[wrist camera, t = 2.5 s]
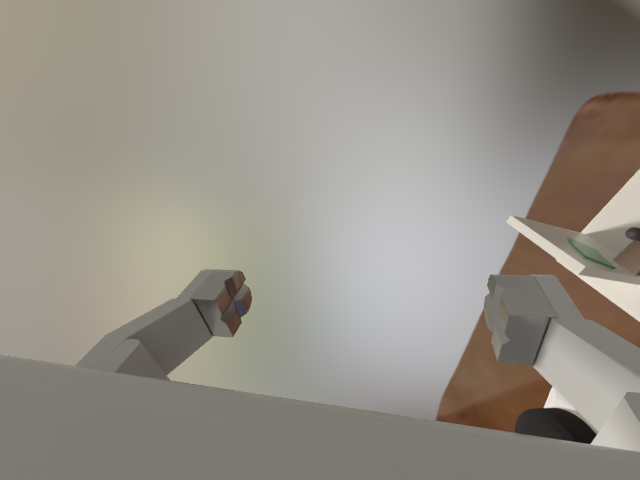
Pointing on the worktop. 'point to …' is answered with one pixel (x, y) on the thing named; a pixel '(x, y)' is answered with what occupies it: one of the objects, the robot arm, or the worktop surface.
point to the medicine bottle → (556, 421)
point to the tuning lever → (631, 252)
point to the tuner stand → (596, 247)
